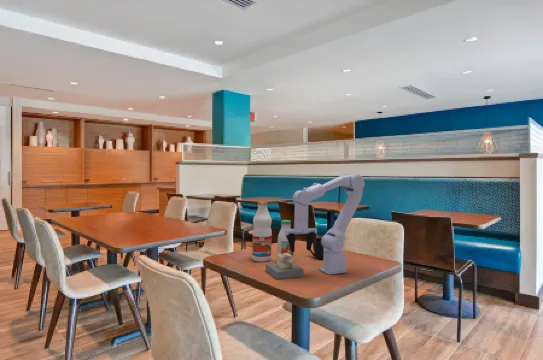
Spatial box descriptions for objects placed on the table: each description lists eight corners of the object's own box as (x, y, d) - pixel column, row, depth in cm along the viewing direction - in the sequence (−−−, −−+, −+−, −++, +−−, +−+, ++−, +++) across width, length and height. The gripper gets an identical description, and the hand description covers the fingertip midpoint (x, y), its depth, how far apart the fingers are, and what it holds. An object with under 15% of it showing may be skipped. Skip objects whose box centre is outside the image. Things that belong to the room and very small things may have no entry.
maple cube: (287, 264, 142) (287, 253, 142) (292, 267, 137) (292, 255, 137) (276, 265, 140) (277, 253, 140) (281, 268, 136) (281, 256, 135)
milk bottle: (274, 263, 155) (275, 221, 154) (280, 259, 162) (281, 218, 161) (290, 265, 152) (291, 222, 151) (295, 261, 159) (296, 220, 158)
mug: (310, 254, 173) (310, 236, 172) (331, 257, 166) (332, 239, 166) (303, 257, 166) (303, 238, 166) (325, 261, 159) (325, 242, 159)
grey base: (290, 268, 147) (290, 261, 147) (303, 276, 136) (303, 269, 136) (265, 270, 142) (266, 264, 142) (277, 279, 131) (277, 272, 131)
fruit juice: (272, 257, 165) (273, 202, 164) (270, 262, 155) (271, 203, 155) (253, 256, 166) (254, 201, 165) (250, 261, 156) (251, 203, 156)
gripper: (289, 221, 131) (289, 254, 132) (321, 219, 137) (320, 251, 137) (282, 218, 138) (281, 250, 138) (312, 217, 144) (311, 248, 144)
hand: (300, 251), depth 138 cm, fingers open, 7 cm apart
